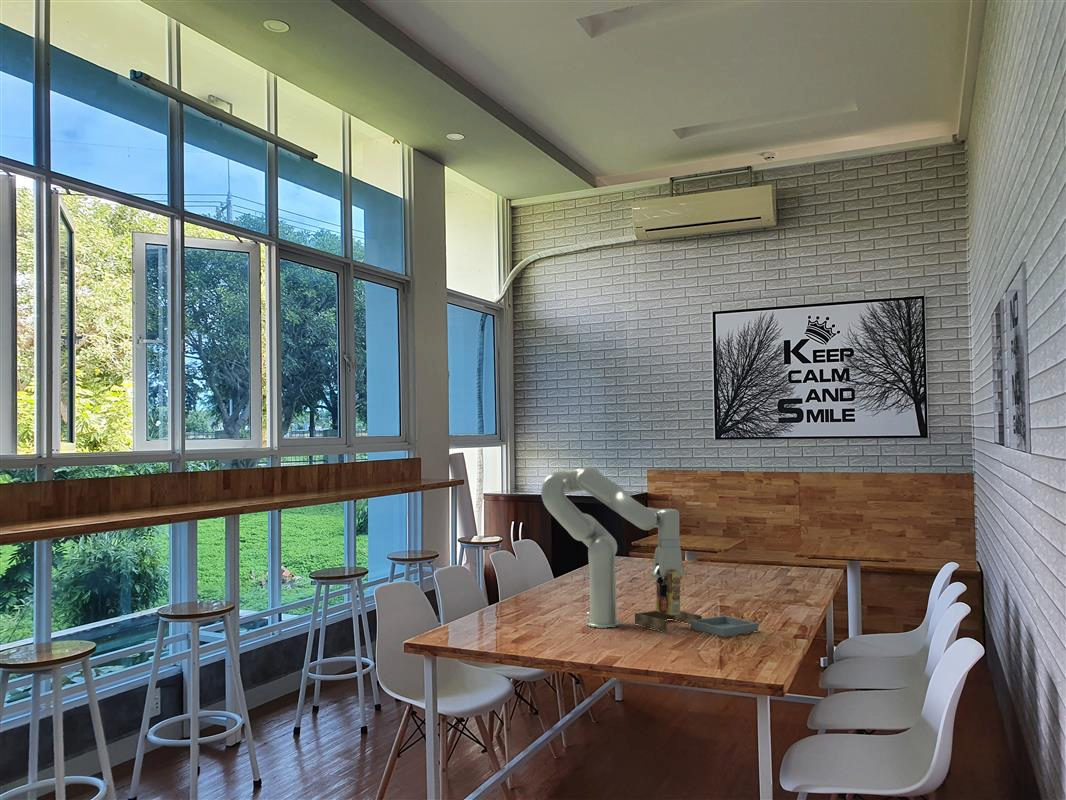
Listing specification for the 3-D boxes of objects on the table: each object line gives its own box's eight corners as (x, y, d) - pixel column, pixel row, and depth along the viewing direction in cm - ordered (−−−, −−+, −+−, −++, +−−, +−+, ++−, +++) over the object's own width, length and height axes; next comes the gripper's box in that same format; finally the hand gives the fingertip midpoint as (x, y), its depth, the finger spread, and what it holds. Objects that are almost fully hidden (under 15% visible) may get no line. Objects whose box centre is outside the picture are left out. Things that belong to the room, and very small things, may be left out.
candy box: (681, 614, 287) (681, 571, 288) (671, 616, 285) (671, 571, 285) (665, 610, 294) (665, 567, 295) (655, 611, 292) (655, 568, 293)
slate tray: (690, 629, 284) (690, 620, 285) (725, 623, 293) (724, 615, 293) (723, 637, 271) (723, 628, 271) (758, 631, 279) (757, 623, 279)
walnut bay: (634, 624, 293) (634, 613, 294) (671, 619, 302) (671, 608, 302) (664, 633, 279) (664, 621, 279) (701, 627, 288) (701, 615, 288)
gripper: (679, 541, 298) (679, 592, 297) (643, 543, 290) (643, 595, 289) (693, 543, 292) (693, 595, 291) (656, 545, 283) (656, 599, 282)
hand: (668, 594), depth 290 cm, fingers closed on candy box, 4 cm apart
